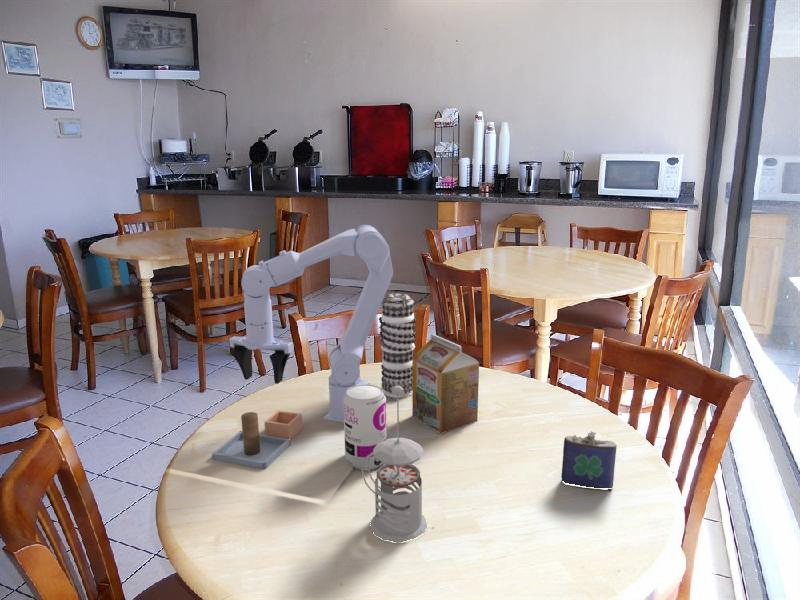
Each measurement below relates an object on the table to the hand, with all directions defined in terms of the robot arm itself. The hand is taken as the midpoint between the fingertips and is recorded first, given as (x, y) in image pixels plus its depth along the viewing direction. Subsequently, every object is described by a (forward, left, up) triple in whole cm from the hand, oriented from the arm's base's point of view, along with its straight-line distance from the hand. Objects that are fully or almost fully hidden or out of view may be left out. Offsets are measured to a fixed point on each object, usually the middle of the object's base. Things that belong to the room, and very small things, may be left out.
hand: (263, 379), depth 135 cm
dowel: (-5, +13, -10) cm, 17 cm away
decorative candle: (-23, -26, -11) cm, 36 cm away
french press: (-40, +25, -11) cm, 48 cm away
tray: (-5, +13, -10) cm, 17 cm away
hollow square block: (-7, +4, -10) cm, 13 cm away
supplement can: (-28, +8, -11) cm, 31 cm away
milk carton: (-38, -15, -11) cm, 42 cm away
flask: (-70, +3, -11) cm, 71 cm away
